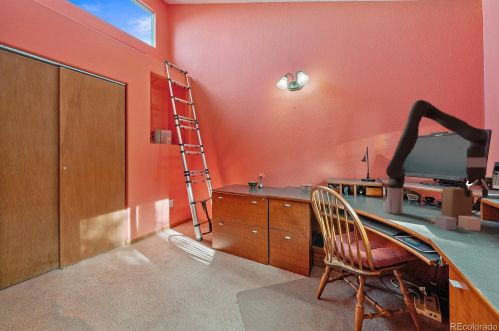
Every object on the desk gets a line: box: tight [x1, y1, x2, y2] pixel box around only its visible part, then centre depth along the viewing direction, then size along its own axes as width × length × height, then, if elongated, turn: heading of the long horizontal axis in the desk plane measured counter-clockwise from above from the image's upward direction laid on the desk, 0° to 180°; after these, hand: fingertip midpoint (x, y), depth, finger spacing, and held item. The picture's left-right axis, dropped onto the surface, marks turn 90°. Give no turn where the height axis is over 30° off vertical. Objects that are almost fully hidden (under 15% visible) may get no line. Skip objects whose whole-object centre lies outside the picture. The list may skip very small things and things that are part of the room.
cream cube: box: [457, 215, 482, 231], centre depth 119 cm, size 6×6×6 cm
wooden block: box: [441, 186, 474, 225], centre depth 130 cm, size 10×10×20 cm
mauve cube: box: [434, 214, 457, 231], centre depth 119 cm, size 6×6×6 cm
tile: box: [424, 218, 435, 224], centre depth 131 cm, size 8×8×1 cm
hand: (476, 196), depth 117 cm, fingers open, 8 cm apart
